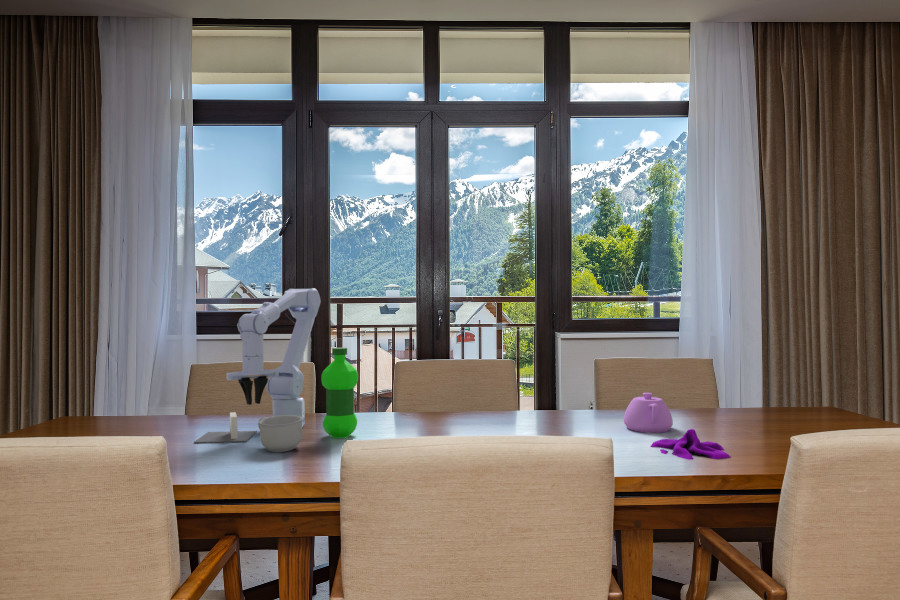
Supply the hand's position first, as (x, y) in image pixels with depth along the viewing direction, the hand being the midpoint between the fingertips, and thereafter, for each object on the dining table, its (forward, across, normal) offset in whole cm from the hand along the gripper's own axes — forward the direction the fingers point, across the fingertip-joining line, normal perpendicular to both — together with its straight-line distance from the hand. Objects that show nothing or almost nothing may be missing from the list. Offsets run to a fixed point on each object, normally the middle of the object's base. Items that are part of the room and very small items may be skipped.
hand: (253, 403), depth 178 cm
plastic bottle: (+10, -19, +15) cm, 26 cm away
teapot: (+10, -94, +65) cm, 115 cm away
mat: (+9, +6, -4) cm, 12 cm away
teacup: (+10, 0, +18) cm, 20 cm away
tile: (+9, +5, -3) cm, 11 cm away
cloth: (+10, -78, +88) cm, 118 cm away
